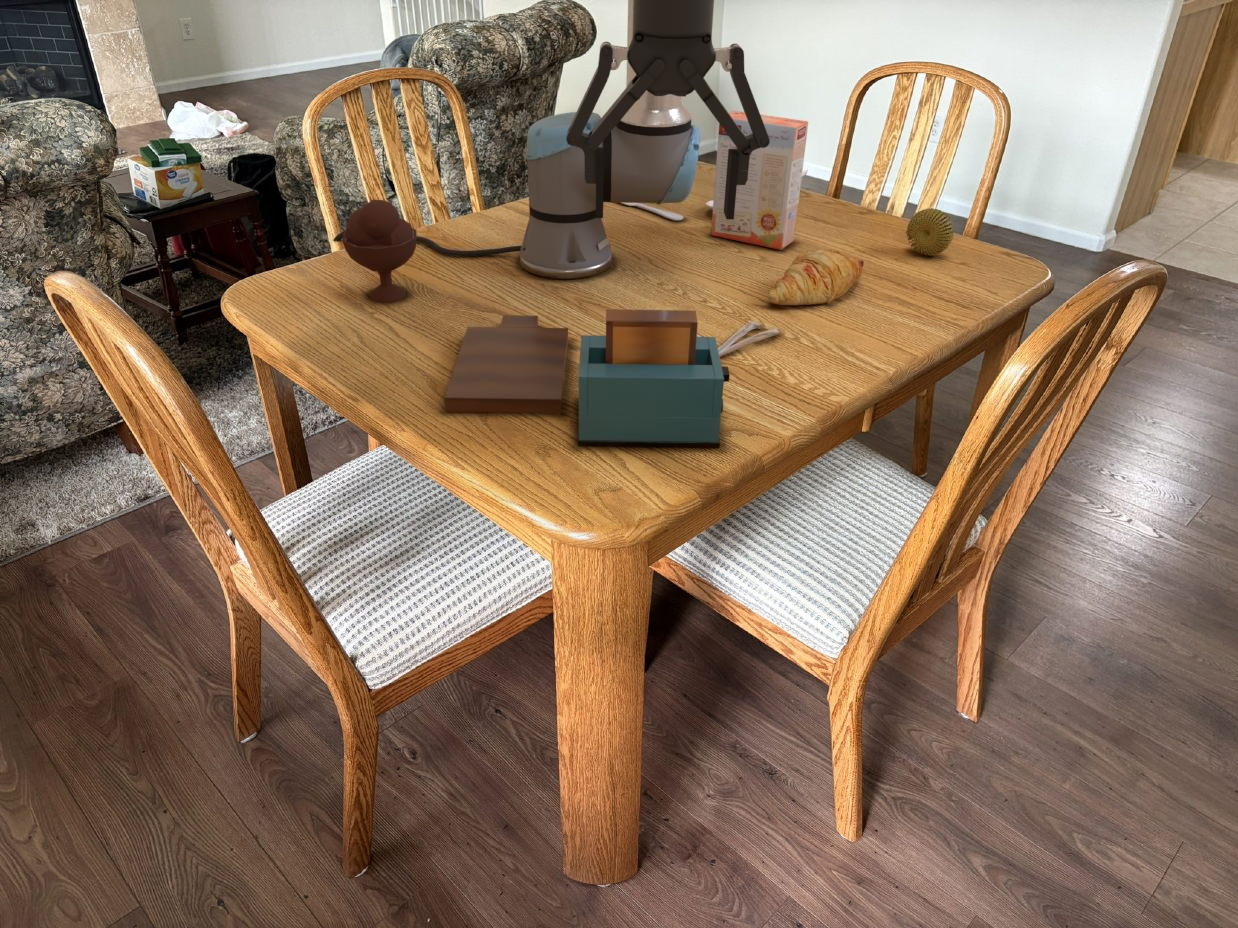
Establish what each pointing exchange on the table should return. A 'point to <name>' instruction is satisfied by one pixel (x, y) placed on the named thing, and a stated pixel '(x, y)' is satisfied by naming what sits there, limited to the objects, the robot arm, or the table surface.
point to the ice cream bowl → (380, 244)
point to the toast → (651, 337)
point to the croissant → (816, 278)
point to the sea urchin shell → (930, 232)
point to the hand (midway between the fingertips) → (664, 215)
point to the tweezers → (726, 347)
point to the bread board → (509, 368)
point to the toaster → (650, 399)
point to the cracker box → (762, 184)
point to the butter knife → (658, 211)
